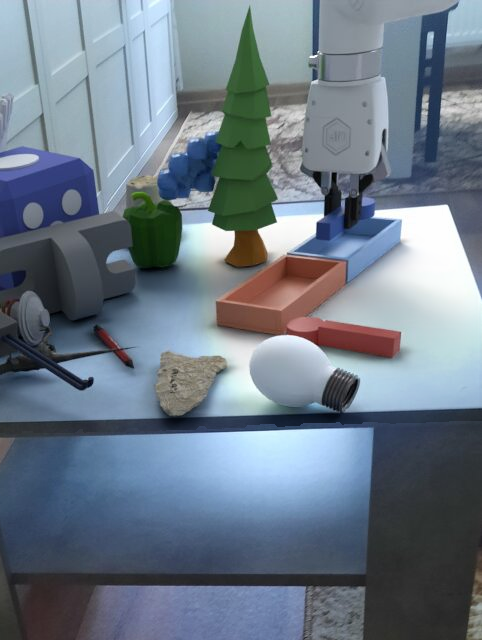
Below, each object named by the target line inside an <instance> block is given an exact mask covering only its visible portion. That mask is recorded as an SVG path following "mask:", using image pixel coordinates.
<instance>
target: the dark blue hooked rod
mask: <svg viewBox="0 0 482 640" xmlns="http://www.w3.org/2000/svg"><path fill="white" fill-rule="evenodd" d="M16 323H17V322H16V320H14V319H13V318H11V317H9V316H8V315H6V314H4V313H3V312H1V311H0V359H2V358H5V357H7V356H10V355H9V354H11V355H12V354H13V353H15V352H19V353H20V354H24V355H25V356H27V357H28V358H30V359H31V360H33V361H34V362H36V363H38V364H39V365H41V366H42V367H44V368H45V370H47V371H49V372H50V373H51V374H53V376H54V375H55V376H56V377H58V378H59V379H60V380H62V381H64V382H65V383H66V384H68V385H70V386H71V387H72V388H74V389H76V390H78V391H85V390H86V389H89V388H92V386H93V385H94V382H95V378H94V377H93V376H88V378H87V379H83V378H81V377H79V376H77V375H76V374H74V373H73V372H72V371H70V370H68V369H66V368H65V367H64V366H62V365H61V364H59V363H55V362H54V361H52V360H51V359H49V358H47V357H46V356H44V355H43V354H41V353H40V352H38V351H36V348H33V346H31V345H29V344H27V343H26V342H25V341H22V339H20V340H19V339H18V333H17V326H16Z"/></svg>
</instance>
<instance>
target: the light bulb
mask: <svg viewBox="0 0 482 640" xmlns="http://www.w3.org/2000/svg"><path fill="white" fill-rule="evenodd" d="M248 367H249V376H250V378H251V380H252V383H253V384H254V386H255V388H256V389H257V390H258V391H259V393H261V395H262V396H264V397H265V398H266V399H268V400H269V401H272V403H275V404H277V405H281V406H284V407H290V408H302V407H307V406H312V405H313V404H317V405H321V406H322V407H325V408H327V409H328V408H329V409H330V410H333V411H336V413H340V414H344V413H345V412H346V411H347V410H348V409H349V408H350V407H351V405H352V403H353V402H354V400H355V398H356V396H357V394H358V391H359V389H360V385H361V378H360V377H359V375H358V374H355V373H353V372H352V373H351V371H348V370H344V369H343V368H340V367H335V366H332V365H331V362H330V359H329V357H328V356H327V354H326V353H325V352H324V350H322V349H321V348H320V347H319V345H315V344H314V343H312V342H310V341H308V340H306V339H304V338H301V337H298V336H292V335H286V334H283V335H275V336H272V337H269V338H267V339H265V340H263V341H262V342H261V343H259V344H258V345H257V346H256V347H255V349H253V351H252V354H251V356H250V359H249V365H248Z"/></svg>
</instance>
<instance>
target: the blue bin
mask: <svg viewBox="0 0 482 640" xmlns="http://www.w3.org/2000/svg"><path fill="white" fill-rule="evenodd" d="M402 223H403V219H402V218H393V217H392V218H389V217H380V216H379V217H378V216H373V217H371V218H369V219H364V220H359V221H358V223H357V224H356V225H354V226H353V227H352V228H350V229H345V230H344V231H343V232H341V233H340V234H338V235H337V236H336V237H334V238H333V239H331V240H330V241H327V240H318V239H316V232H315V233H314V234H312V235H311V236H309V237H308V238H307V239H305V240H304V241H302V242H300V243H299V244H297V245H296V246H295V247H293V248H291V249H290V250H289V251H287V252H286V255H294V256H302V257H311V258H320V259H328V260H337V261H345V262H346V279H345V284H348V283H349V282H351V281H352V280H353V279H355V278H356V277H358V275H360V274H361V273H362V272H363V271H365V270H366V269H367V268H368V267H370V266H371V265H372V264H374V263H375V262H376V261H377V260H378V259H380V258H381V257H383V256H384V255H385V254H387V252H388V251H390V250H392V249H393V248H394V247H395V246H396V245H398V244H399V243H400V242H401V236H402Z"/></svg>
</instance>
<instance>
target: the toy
mask: <svg viewBox="0 0 482 640" xmlns="http://www.w3.org/2000/svg"><path fill="white" fill-rule="evenodd" d="M14 97H15V96H14V95H13V94H11V93H10V92H5V93H3V94H2V96H1V97H0V238H4V237H8V236H12V235H16V234H20V233H24V232H28V231H32V230H36V229H41V228H45V227H49V226H53V225H57V224H61V223H65V222H69V221H74V220H78V219H82V218H86V217H90V216H94V215H98V214H100V208H99V201H98V195H97V188H96V177H95V172H94V171H95V170H94V169H93V168H92V167H91V166H89V164H87V163H86V162H85V161H84V160H82V158H81V157H77V156H72V155H68V154H67V155H66V154H62V153H56V152H52V151H49V150H48V151H47V150H42V149H37V148H33V147H27V146H23V145H21V146H17V147H15V148H12V149H8V150H6V149H7V141H8V132H9V124H10V120H11V116H12V113H13V106H14V105H13V104H14ZM25 278H26V271H25V270H18V271H14V272H11V273H7V274H3V275H0V291H3V290H7V289H11V288H15V287H17V286H19V285H21V284H22V283H23V282H24V280H25Z"/></svg>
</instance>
